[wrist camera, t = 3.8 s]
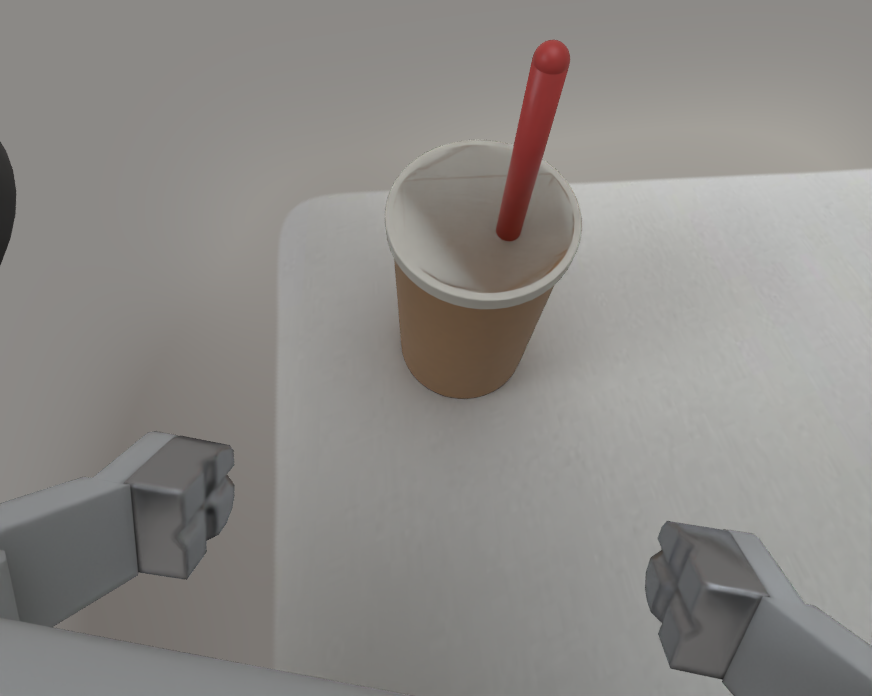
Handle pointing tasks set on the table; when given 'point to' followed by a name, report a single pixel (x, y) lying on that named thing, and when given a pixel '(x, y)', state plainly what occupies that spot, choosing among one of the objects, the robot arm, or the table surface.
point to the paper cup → (482, 244)
